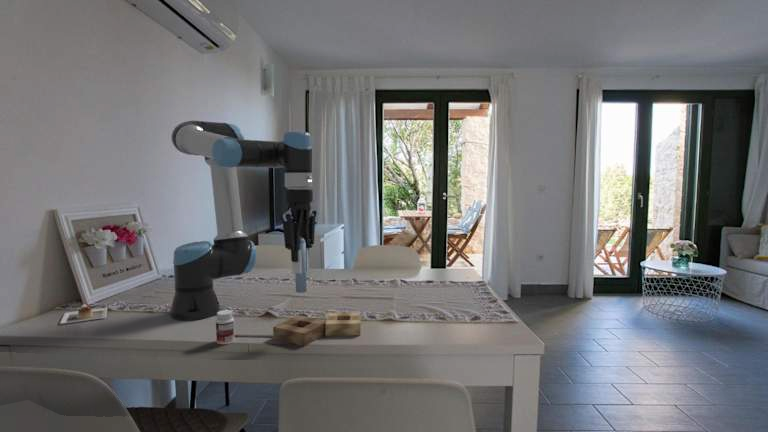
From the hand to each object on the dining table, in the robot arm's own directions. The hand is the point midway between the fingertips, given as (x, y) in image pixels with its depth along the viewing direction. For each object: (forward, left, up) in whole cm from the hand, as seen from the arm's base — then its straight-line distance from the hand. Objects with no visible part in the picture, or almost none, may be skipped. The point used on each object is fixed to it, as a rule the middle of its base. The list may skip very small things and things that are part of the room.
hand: (300, 271), depth 122 cm
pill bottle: (-16, -13, -19) cm, 28 cm away
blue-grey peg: (0, 0, -6) cm, 6 cm away
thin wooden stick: (-13, -7, -19) cm, 24 cm away
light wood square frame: (+8, +10, -19) cm, 23 cm away
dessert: (-73, -19, -20) cm, 78 cm away
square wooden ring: (0, 0, -19) cm, 19 cm away
